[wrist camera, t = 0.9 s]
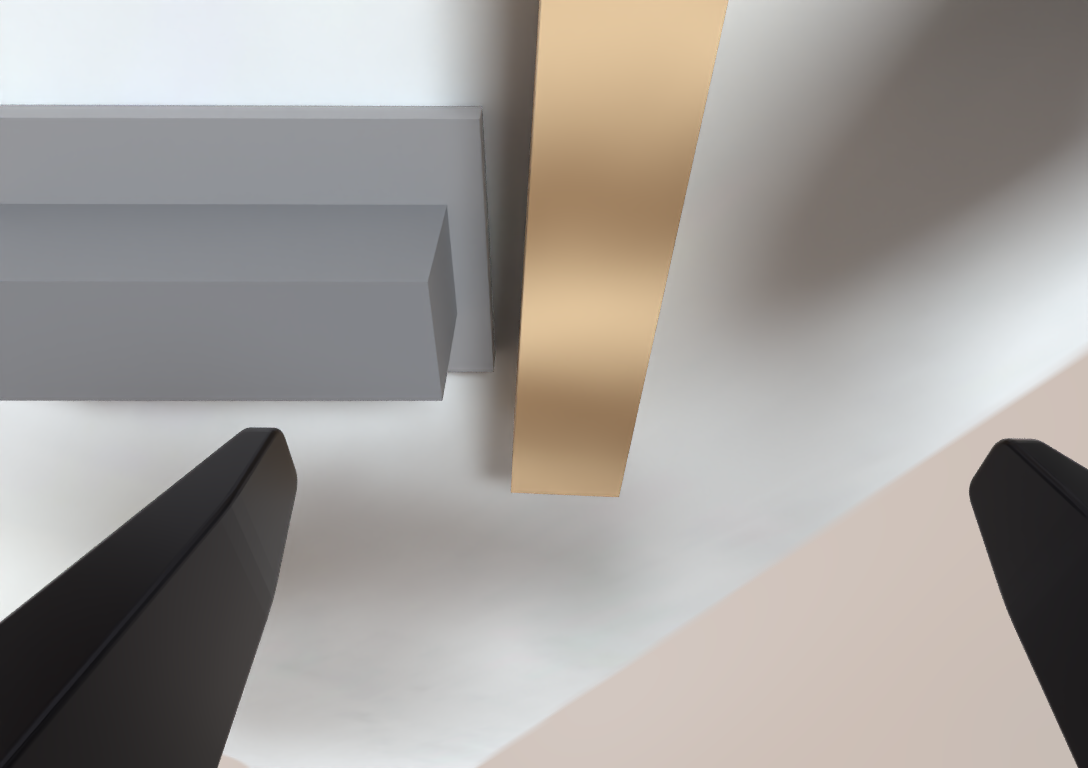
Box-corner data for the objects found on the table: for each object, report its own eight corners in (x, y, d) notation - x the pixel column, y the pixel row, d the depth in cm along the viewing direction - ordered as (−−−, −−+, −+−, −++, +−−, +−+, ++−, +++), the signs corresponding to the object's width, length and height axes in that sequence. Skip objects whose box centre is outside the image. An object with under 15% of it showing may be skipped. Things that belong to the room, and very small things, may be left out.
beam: (565, -438, 12) (575, -538, 8) (760, -416, 12) (840, -506, 9) (514, 409, 24) (511, 492, 21) (608, 413, 24) (618, 497, 21)
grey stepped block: (481, 106, 17) (465, 184, 13) (494, 353, 22) (485, 461, 18) (-62, 104, 17) (-238, 182, 13) (77, 352, 22) (-21, 461, 18)
